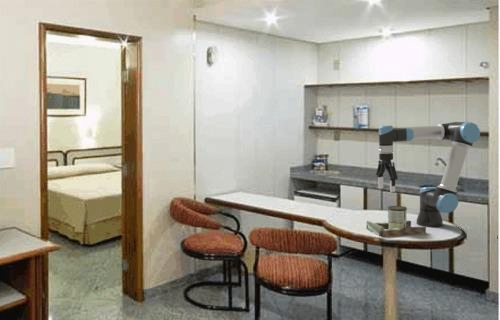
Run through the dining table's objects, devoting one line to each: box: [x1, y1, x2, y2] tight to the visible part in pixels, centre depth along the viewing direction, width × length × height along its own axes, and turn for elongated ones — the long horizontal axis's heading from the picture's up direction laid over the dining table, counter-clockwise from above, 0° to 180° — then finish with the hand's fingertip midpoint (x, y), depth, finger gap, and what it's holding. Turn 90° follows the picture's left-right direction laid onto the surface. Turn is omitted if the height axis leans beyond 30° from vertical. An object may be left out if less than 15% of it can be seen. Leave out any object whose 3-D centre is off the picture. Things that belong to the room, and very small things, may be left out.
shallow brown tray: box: [366, 220, 427, 237], centre depth 269 cm, size 28×18×5 cm, turn 102°
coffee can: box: [387, 205, 408, 229], centre depth 269 cm, size 10×10×14 cm
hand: (386, 190), depth 265 cm, fingers open, 13 cm apart
